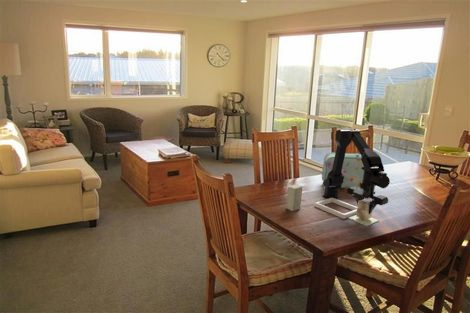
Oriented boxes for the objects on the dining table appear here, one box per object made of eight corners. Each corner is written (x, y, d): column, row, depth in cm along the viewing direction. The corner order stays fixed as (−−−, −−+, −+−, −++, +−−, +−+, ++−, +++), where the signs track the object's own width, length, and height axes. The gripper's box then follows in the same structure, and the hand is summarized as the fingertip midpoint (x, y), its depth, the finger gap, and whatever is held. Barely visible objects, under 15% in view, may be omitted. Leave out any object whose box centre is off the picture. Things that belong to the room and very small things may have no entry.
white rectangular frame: (314, 206, 186) (314, 202, 186) (331, 200, 195) (332, 197, 195) (344, 218, 172) (344, 215, 172) (361, 212, 181) (362, 208, 181)
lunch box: (362, 184, 225) (367, 151, 220) (368, 190, 215) (373, 155, 210) (319, 182, 225) (323, 149, 220) (323, 188, 215) (327, 153, 210)
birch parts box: (356, 216, 172) (358, 200, 170) (362, 214, 175) (364, 198, 173) (365, 220, 169) (367, 203, 167) (371, 217, 172) (373, 201, 170)
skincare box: (294, 206, 186) (296, 183, 183) (300, 208, 182) (303, 186, 179) (285, 208, 182) (287, 185, 179) (292, 211, 179) (294, 188, 176)
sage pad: (348, 218, 173) (348, 217, 173) (360, 213, 179) (360, 213, 179) (366, 226, 166) (366, 225, 165) (378, 221, 172) (378, 220, 171)
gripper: (341, 178, 170) (337, 209, 174) (377, 190, 156) (372, 223, 159) (355, 174, 176) (351, 204, 180) (391, 185, 162) (386, 217, 166)
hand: (364, 212), depth 171 cm, fingers closed on birch parts box, 5 cm apart
